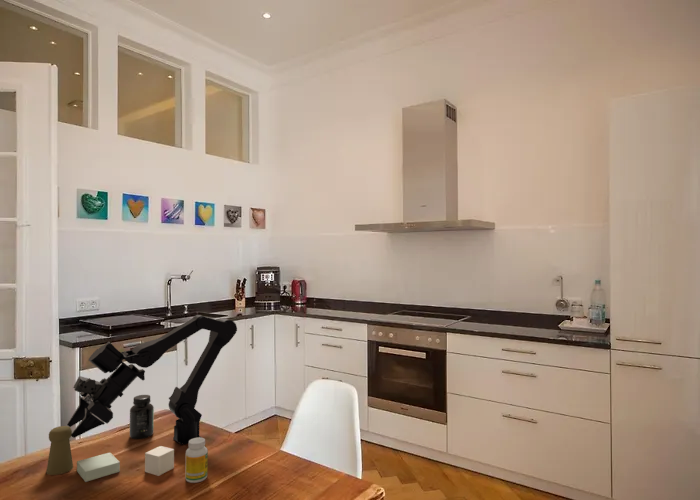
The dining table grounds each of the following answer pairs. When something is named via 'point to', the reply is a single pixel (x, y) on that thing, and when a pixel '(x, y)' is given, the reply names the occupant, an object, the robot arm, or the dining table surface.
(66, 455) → the cork
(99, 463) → the base brick
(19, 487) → the dining table surface
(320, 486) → the dining table surface
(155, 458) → the brick
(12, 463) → the dining table surface
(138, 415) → the supplement bottle
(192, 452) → the supplement bottle
